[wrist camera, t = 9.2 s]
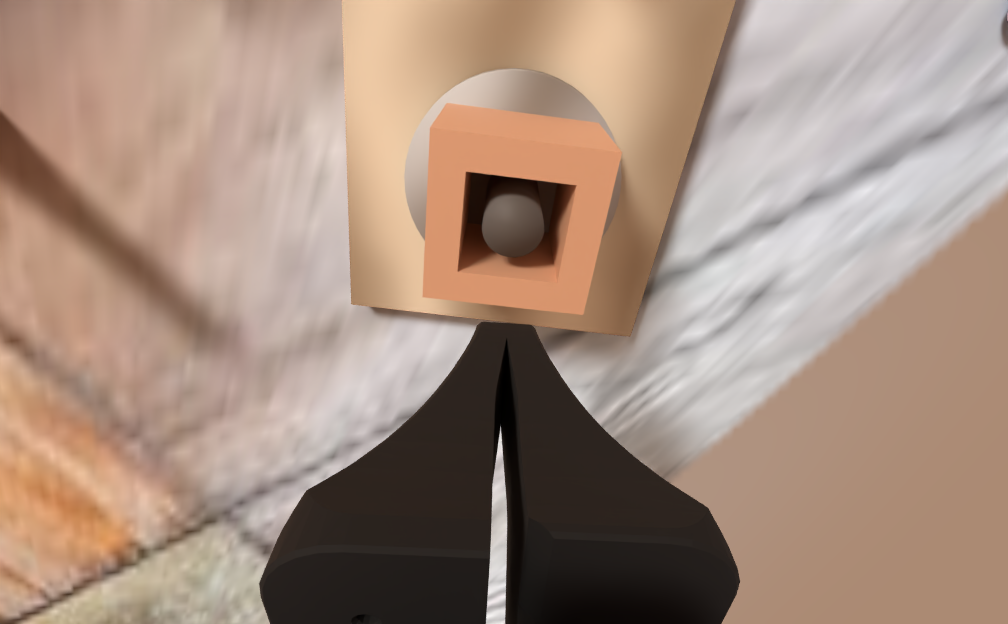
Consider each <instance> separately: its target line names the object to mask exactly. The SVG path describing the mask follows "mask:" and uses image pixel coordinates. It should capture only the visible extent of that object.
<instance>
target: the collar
mask: <svg viewBox="0 0 1008 624" xmlns="http://www.w3.org/2000/svg"><path fill="white" fill-rule="evenodd" d="M621 155H622V152H621V150H620V149H619V148H618V147H617V145H616V144H615V143H614V141H613V140H612V139H611V138H610V136H609V135H608V134H607V133H606V131H605V130H604V129H603V128H602V126H601V125H600V124H599V123H596V122H589V121H581V120H574V119H566V118H559V117H551V116H543V115H536V114H528V113H521V112H513V111H505V110H498V109H490V108H483V107H475V106H468V105H460V104H452V103H446V105H445V106H444V108H443V109H442V111H441V112H440V113H439V115H438V116H437V118H436V119H435V121H434V122H433V124H432V125H431V127H430V136H429V159H428V182H427V205H426V227H425V250H424V273H423V296H422V297H425V298H434V299H443V300H452V301H461V302H470V303H479V304H488V305H497V306H506V307H515V308H524V309H533V310H542V311H551V312H560V313H569V314H578V315H583V314H584V310H585V305H586V301H587V297H588V293H589V289H590V285H591V280H592V276H593V272H594V268H595V264H596V260H597V255H598V251H599V247H600V243H601V239H602V234H603V230H604V226H605V222H606V218H607V214H608V209H609V205H610V201H611V197H612V193H613V188H614V184H615V180H616V176H617V172H618V168H619V163H620V159H621ZM472 172H474V173H482V174H490V175H498V176H506V177H514V178H522V179H530V180H538V181H546V182H554V183H557V187H556V193H555V199H554V204H553V210H552V215H551V221H550V226H549V232H544V234H543V238H542V240H541V242H540V244H539V245H538V246H537V247H536V248H535V249H534V250H533V251H532V252H530V253H529V254H526V255H524V256H521V257H505V256H502V255H500V254H498V253H496V252H494V251H493V250H492V249H491V248H490V247H489V246H488V245H487V243H486V242H485V240H484V237H483V233H482V225H481V224H472V223H467V220H468V209H469V198H470V187H471V175H472Z"/></svg>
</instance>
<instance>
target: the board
mask: <svg viewBox="0 0 1008 624" xmlns="http://www.w3.org/2000/svg"><path fill="white" fill-rule="evenodd" d="M735 1H736V0H342V21H343V53H344V85H345V117H346V149H347V181H348V213H349V245H350V277H351V304H353V305H362V306H370V307H379V308H388V309H396V310H405V311H413V312H422V313H431V314H439V315H448V316H457V317H465V318H474V319H482V320H491V321H500V322H508V323H517V324H530V325H534V326H543V327H551V328H560V329H569V330H577V331H586V332H595V333H603V334H612V335H621V336H629V337H630V336H631V333H632V330H633V326H634V323H635V320H636V317H637V314H638V310H639V307H640V304H641V301H642V298H643V294H644V291H645V288H646V285H647V282H648V279H649V275H650V272H651V269H652V266H653V263H654V259H655V256H656V253H657V250H658V247H659V244H660V240H661V237H662V234H663V231H664V228H665V224H666V221H667V218H668V215H669V212H670V209H671V205H672V202H673V199H674V196H675V193H676V189H677V186H678V183H679V180H680V177H681V173H682V170H683V167H684V164H685V161H686V158H687V154H688V151H689V148H690V145H691V142H692V138H693V135H694V132H695V129H696V126H697V123H698V119H699V116H700V113H701V110H702V107H703V103H704V100H705V97H706V94H707V91H708V87H709V84H710V81H711V78H712V75H713V72H714V68H715V65H716V62H717V59H718V56H719V52H720V49H721V46H722V43H723V40H724V37H725V33H726V30H727V27H728V24H729V21H730V17H731V14H732V11H733V8H734V5H735ZM446 103H452V104H460V105H468V106H475V107H483V108H490V109H498V110H505V111H513V112H521V113H528V114H536V115H543V116H551V117H559V118H566V119H574V120H581V121H589V122H596V123H599V124H600V125H601V126H602V128H603V129H604V130H605V131H606V133H607V134H608V135H609V136H610V138H611V139H612V140H613V141H614V143H615V144H616V145H617V147H618V148H619V149H620V150H621V152H622V155H621V159H620V163H619V168H618V172H617V176H616V180H615V184H614V188H613V193H612V197H611V201H610V205H609V209H608V214H607V218H606V222H605V226H604V230H603V234H602V239H601V243H600V247H599V251H598V255H597V260H596V264H595V268H594V272H593V276H592V280H591V285H590V289H589V293H588V297H587V301H586V305H585V310H584V314H583V315H578V314H569V313H560V312H551V311H542V310H533V309H524V308H515V307H506V306H497V305H488V304H479V303H470V302H461V301H452V300H443V299H434V298H425V297H422V296H423V273H424V250H425V227H426V205H427V182H428V159H429V136H430V127H431V125H432V124H433V122H434V121H435V119H436V118H437V116H438V115H439V113H440V112H441V111H442V109H443V108H444V106H445V105H446ZM556 187H557V183H554V182H546V181H538V180H530V179H522V178H514V177H506V176H498V175H490V174H482V173H474V172H472V175H471V187H470V198H469V209H468V220H467V223H472V224H481V225H482V233H483V237H484V240H485V242H486V243H487V245H488V246H489V247H490V248H491V249H492V250H493V251H494V252H496V253H498V254H500V255H502V256H505V257H521V256H524V255H526V254H529V253H530V252H532V251H533V250H534V249H535V248H536V247H537V246H538V245H539V244H540V242H541V240H542V238H543V234H544V232H549V226H550V221H551V215H552V210H553V204H554V199H555V193H556Z"/></svg>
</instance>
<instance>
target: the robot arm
mask: <svg viewBox="0 0 1008 624" xmlns="http://www.w3.org/2000/svg"><path fill="white" fill-rule="evenodd" d="M1007 21H1008V14H1007ZM500 426H501V433H502V446H503V459H504V472H505V485H506V498H507V570H506V615H505V624H721V623H722V621H723V619H724V617H725V616H726V613H727V612H728V610H729V608H730V606H731V604H732V602H733V600H734V598H735V596H736V594H737V590H738V587H739V583H740V579H739V574H738V569H737V566H736V564H735V561H734V559H733V556H732V554H731V551H730V549H729V547H728V545H727V543H726V540H725V539H724V537H723V535H722V533H721V531H720V529H719V527H718V525H717V523H716V522H715V520H714V518H713V516H712V514H711V513H710V511H709V509H708V508H707V507H706V506H704V505H703V504H701V503H699V502H698V501H697V500H695V499H693V498H692V497H690V496H689V495H687V494H686V493H684V492H682V491H681V490H679V489H678V488H676V487H675V486H673V485H672V484H670V483H669V482H667V481H666V480H664V479H663V478H661V477H660V476H659V475H657V474H656V473H655V472H653V471H652V470H651V469H649V468H648V467H647V466H645V465H644V464H643V463H641V462H640V461H639V460H638V459H636V458H635V457H634V456H633V455H632V454H630V453H629V452H628V451H627V450H626V449H625V448H624V447H623V446H621V445H620V444H619V443H618V442H617V441H616V440H615V439H614V438H612V437H611V436H610V435H609V434H608V433H607V432H606V431H605V430H604V429H603V428H602V427H601V426H600V425H599V424H598V423H597V421H596V420H595V419H594V418H593V417H592V416H591V415H590V414H589V413H588V411H587V410H586V409H585V408H584V407H583V405H582V404H581V403H580V402H579V400H578V399H577V398H576V397H575V395H574V394H573V393H572V391H571V390H570V389H569V387H568V386H567V384H566V383H565V382H564V380H563V379H562V377H561V376H560V374H559V372H558V371H557V369H556V368H555V366H554V365H553V363H552V361H551V360H550V358H549V356H548V355H547V353H546V351H545V349H544V347H543V345H542V343H541V341H540V339H539V337H538V335H537V332H536V330H535V328H534V327H533V326H532V325H530V324H510V323H491V322H481V323H480V324H478V325H477V327H476V330H475V332H474V335H473V337H472V339H471V341H470V343H469V344H468V346H467V348H466V350H465V351H464V353H463V354H462V356H461V357H460V359H459V360H458V362H457V363H456V365H455V367H454V368H453V369H452V371H451V372H450V373H449V375H448V376H447V377H446V379H445V380H444V381H443V382H442V384H441V385H440V386H439V388H438V389H437V390H436V391H435V392H434V394H433V395H432V396H431V397H430V398H429V399H428V400H427V401H426V402H425V404H424V405H423V406H422V407H421V408H420V409H419V410H418V411H417V412H416V413H415V414H414V415H413V416H412V417H411V418H410V419H408V420H407V421H406V422H405V423H404V424H403V425H402V426H401V427H400V428H399V429H397V430H396V431H395V432H394V433H393V434H392V435H390V436H389V437H388V438H387V439H386V440H384V441H383V442H382V443H380V444H379V445H378V446H376V447H375V448H373V449H372V450H371V451H369V452H368V453H367V454H365V455H364V456H363V457H361V458H360V459H358V460H357V461H356V462H354V463H353V464H351V465H350V466H348V467H346V468H345V469H343V470H341V471H340V472H338V473H336V474H335V475H333V476H331V477H329V478H328V479H326V480H324V481H323V482H321V483H319V484H317V485H316V486H314V487H312V488H310V489H308V490H307V491H306V492H305V493H304V495H303V497H302V498H301V500H300V501H299V503H298V504H297V506H296V508H295V509H294V511H293V512H292V514H291V516H290V518H289V519H288V521H287V523H286V524H285V526H284V528H283V529H282V531H281V533H280V535H279V537H278V539H277V542H276V544H275V547H274V549H273V551H272V554H271V556H270V558H269V561H268V563H267V565H266V568H265V570H264V573H263V575H262V578H261V580H260V583H259V585H260V594H261V599H262V602H263V604H264V607H265V610H266V613H267V616H268V619H269V622H270V624H486V610H487V595H488V579H489V564H490V543H491V516H492V483H493V476H494V469H495V462H496V455H497V448H498V440H499V433H500Z"/></svg>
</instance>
